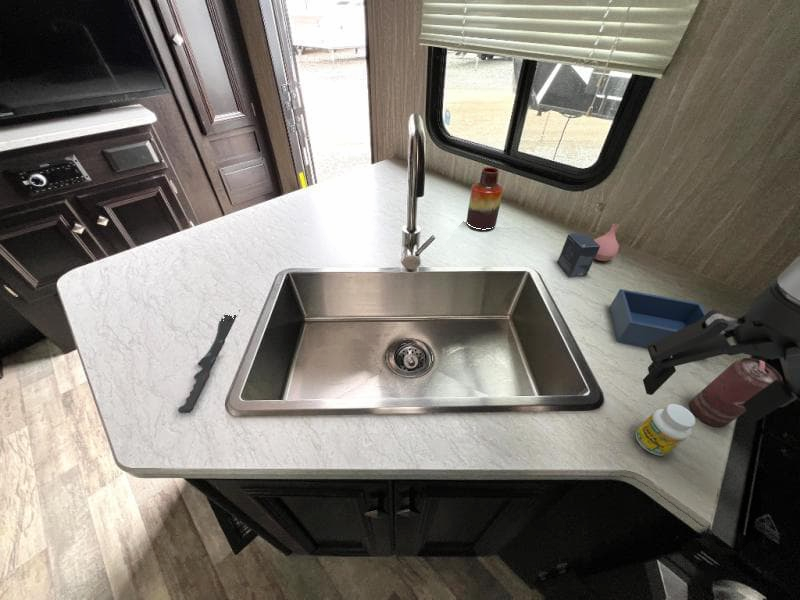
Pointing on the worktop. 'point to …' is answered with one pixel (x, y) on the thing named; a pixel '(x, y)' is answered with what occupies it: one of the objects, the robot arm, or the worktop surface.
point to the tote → (650, 316)
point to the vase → (485, 201)
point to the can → (732, 391)
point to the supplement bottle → (665, 429)
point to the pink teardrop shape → (607, 245)
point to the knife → (208, 362)
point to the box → (578, 254)
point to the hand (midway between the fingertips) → (696, 399)
